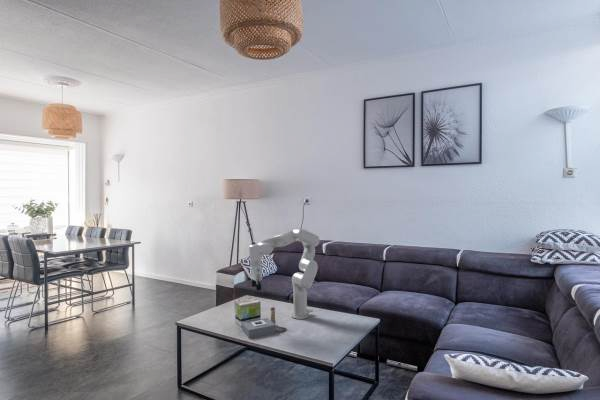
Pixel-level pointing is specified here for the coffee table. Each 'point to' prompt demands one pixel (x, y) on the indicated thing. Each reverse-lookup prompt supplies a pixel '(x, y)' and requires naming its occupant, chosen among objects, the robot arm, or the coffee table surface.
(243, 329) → the grey socket block
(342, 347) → the coffee table surface
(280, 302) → the coffee table surface
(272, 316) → the stylus
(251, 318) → the tea box
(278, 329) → the coaster
